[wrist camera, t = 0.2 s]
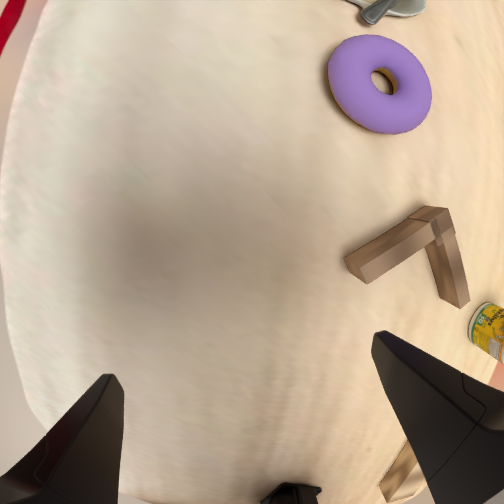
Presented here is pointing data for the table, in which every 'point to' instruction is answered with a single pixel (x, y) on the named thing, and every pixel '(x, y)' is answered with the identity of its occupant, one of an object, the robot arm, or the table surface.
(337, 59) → the donut
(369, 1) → the salad plate
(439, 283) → the v block
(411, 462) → the beam
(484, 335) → the supplement bottle
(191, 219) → the table surface
